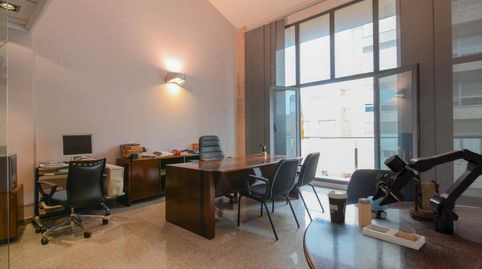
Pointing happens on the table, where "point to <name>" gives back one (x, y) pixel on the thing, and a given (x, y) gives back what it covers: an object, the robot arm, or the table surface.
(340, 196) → the coffee cup
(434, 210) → the robot arm
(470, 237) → the table surface
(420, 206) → the scroll
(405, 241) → the housing
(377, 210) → the toy excavator
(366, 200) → the knob-topped wooden post
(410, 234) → the grey and tan piece
